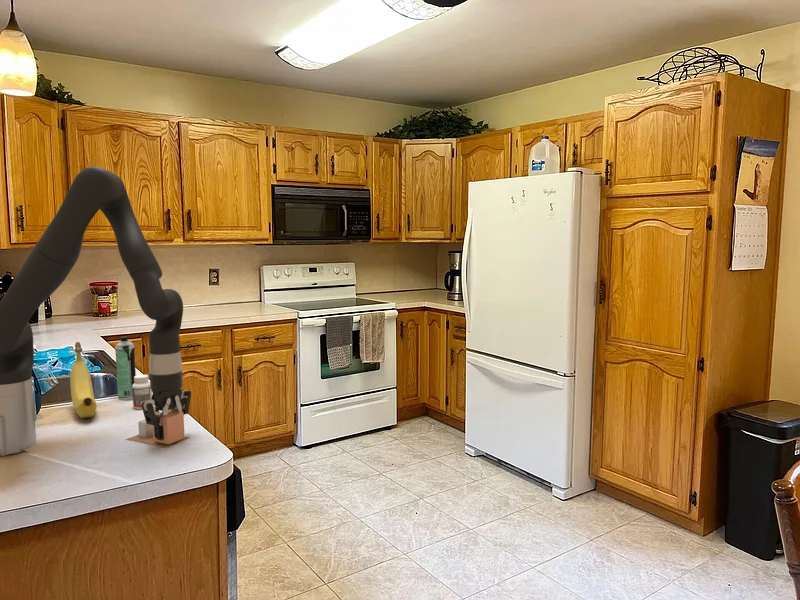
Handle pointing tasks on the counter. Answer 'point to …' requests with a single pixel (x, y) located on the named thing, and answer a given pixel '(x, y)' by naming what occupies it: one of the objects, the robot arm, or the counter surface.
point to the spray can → (125, 368)
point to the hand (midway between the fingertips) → (169, 435)
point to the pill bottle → (141, 391)
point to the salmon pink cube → (172, 427)
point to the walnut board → (153, 443)
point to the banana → (82, 387)
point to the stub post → (145, 429)
